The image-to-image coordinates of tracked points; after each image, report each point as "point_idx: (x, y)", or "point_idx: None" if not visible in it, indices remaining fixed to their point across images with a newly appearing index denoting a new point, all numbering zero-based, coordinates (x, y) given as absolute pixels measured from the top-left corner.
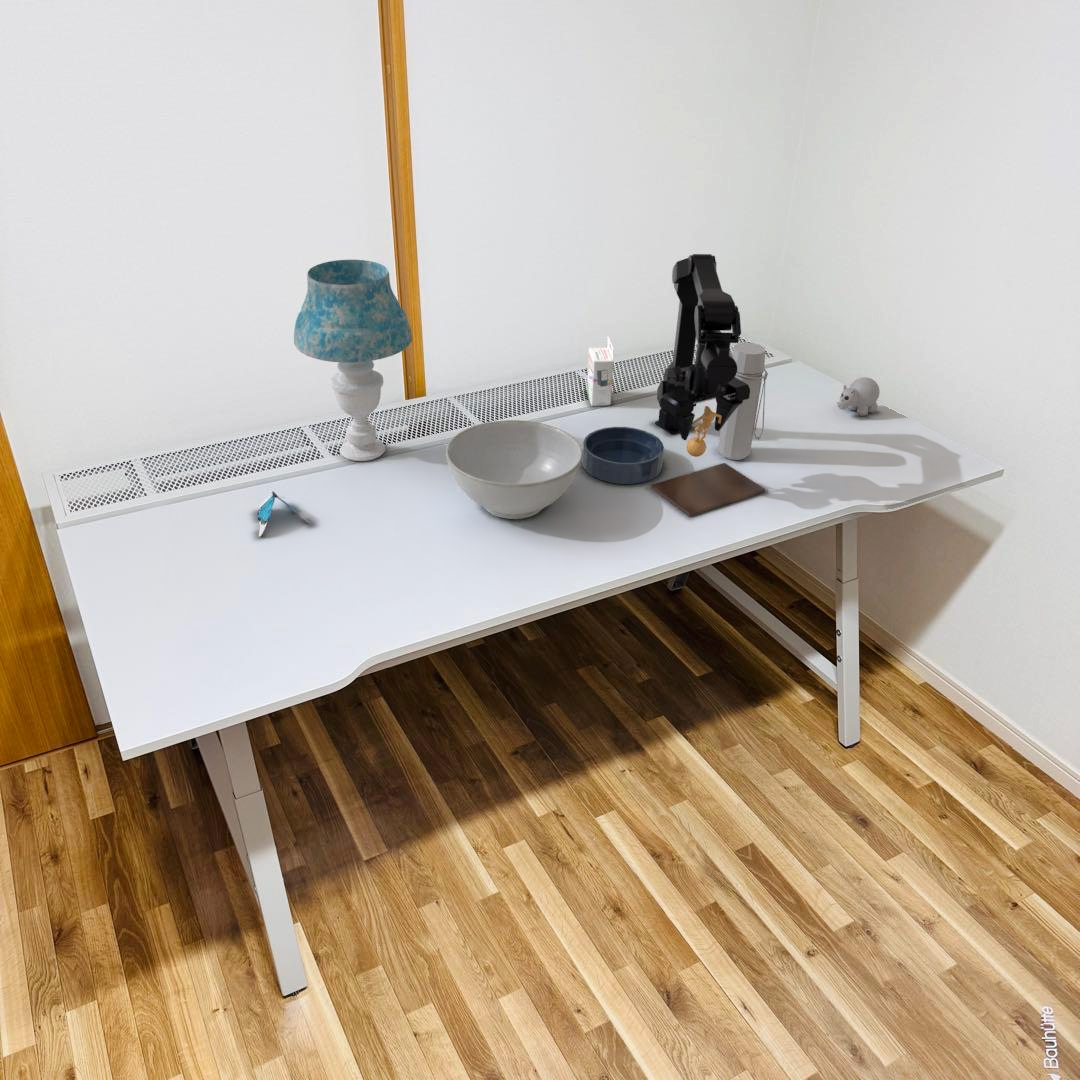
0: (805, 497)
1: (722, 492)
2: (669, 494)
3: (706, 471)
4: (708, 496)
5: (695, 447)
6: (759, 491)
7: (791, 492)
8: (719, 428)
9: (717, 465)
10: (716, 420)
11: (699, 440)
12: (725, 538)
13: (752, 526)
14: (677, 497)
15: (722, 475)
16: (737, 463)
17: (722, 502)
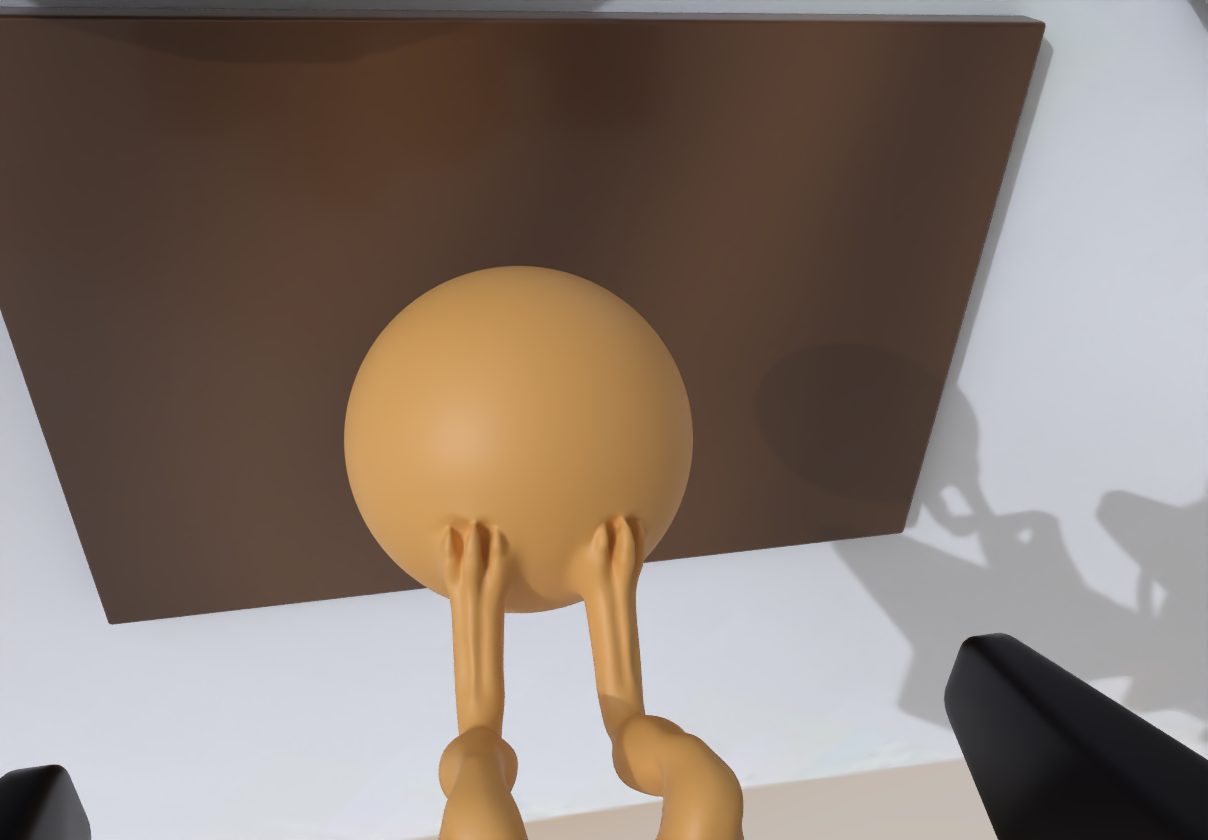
0: (1024, 630)
1: None
2: (61, 310)
3: (750, 87)
4: None
5: (415, 579)
6: (848, 537)
7: (1019, 566)
8: (976, 780)
9: (944, 34)
10: (1104, 816)
11: (545, 593)
12: (241, 833)
13: None
14: (126, 387)
15: (818, 230)
16: (1156, 40)
17: None
